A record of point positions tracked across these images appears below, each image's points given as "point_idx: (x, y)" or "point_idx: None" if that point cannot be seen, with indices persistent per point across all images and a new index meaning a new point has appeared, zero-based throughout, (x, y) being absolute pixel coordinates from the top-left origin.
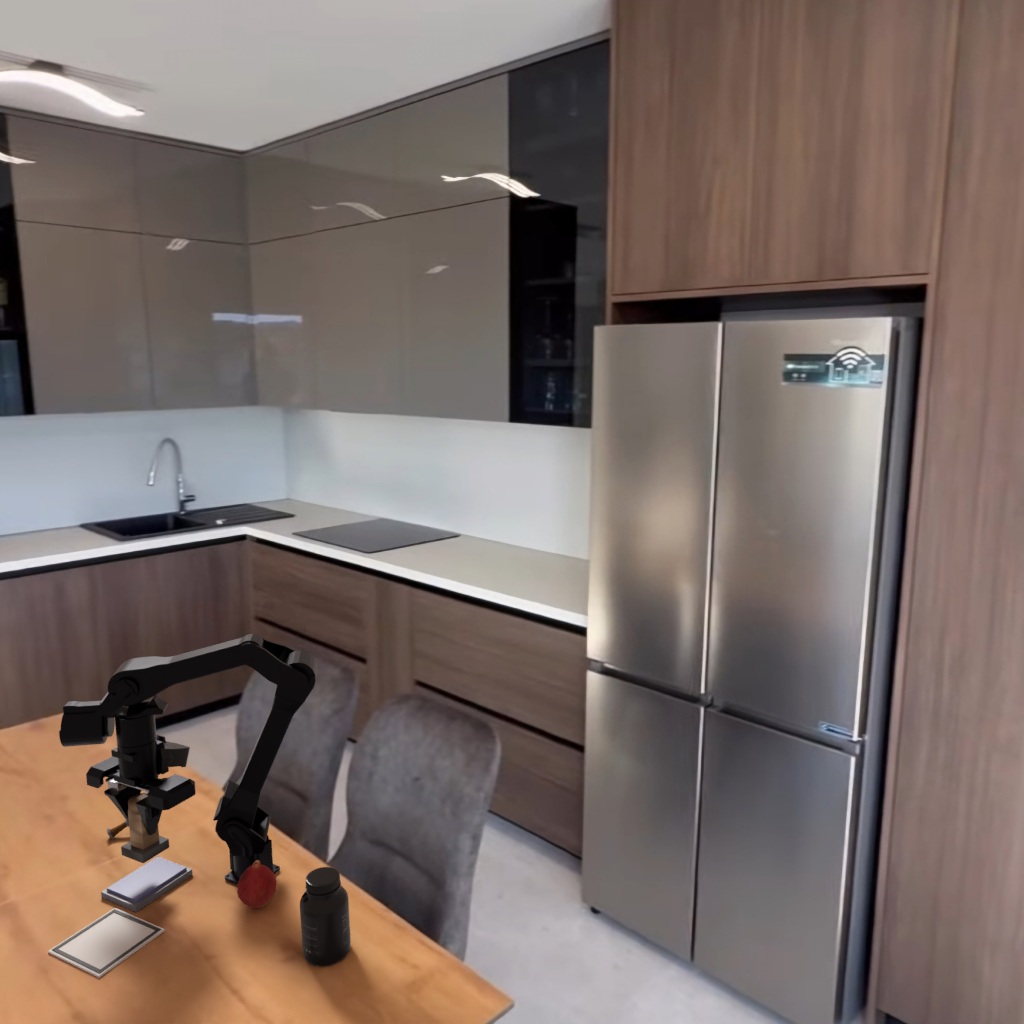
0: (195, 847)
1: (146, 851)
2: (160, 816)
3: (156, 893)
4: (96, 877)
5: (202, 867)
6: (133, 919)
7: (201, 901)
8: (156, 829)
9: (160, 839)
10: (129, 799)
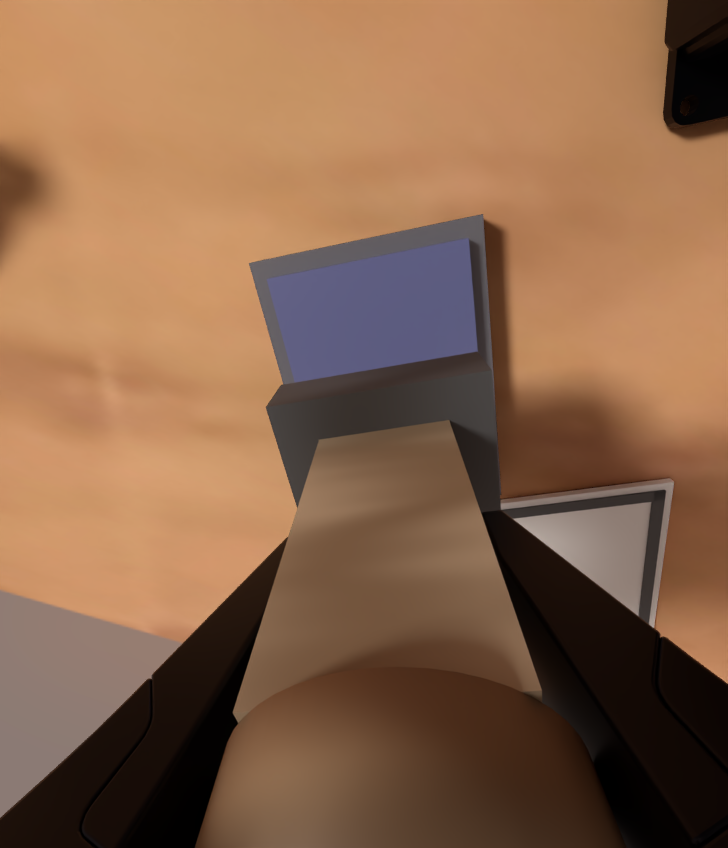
0: (263, 39)
1: None
2: (626, 607)
3: (495, 412)
4: (191, 462)
5: (465, 139)
6: (534, 512)
7: (673, 306)
8: (516, 522)
9: (446, 409)
10: None
